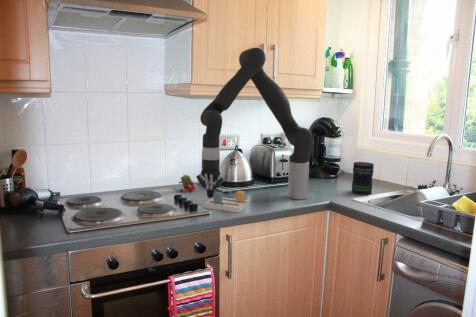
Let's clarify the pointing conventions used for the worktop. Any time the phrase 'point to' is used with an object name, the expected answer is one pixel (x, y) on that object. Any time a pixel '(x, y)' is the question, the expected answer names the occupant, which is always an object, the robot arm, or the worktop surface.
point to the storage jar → (362, 178)
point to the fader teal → (217, 197)
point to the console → (227, 205)
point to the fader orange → (240, 196)
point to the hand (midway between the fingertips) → (210, 197)
